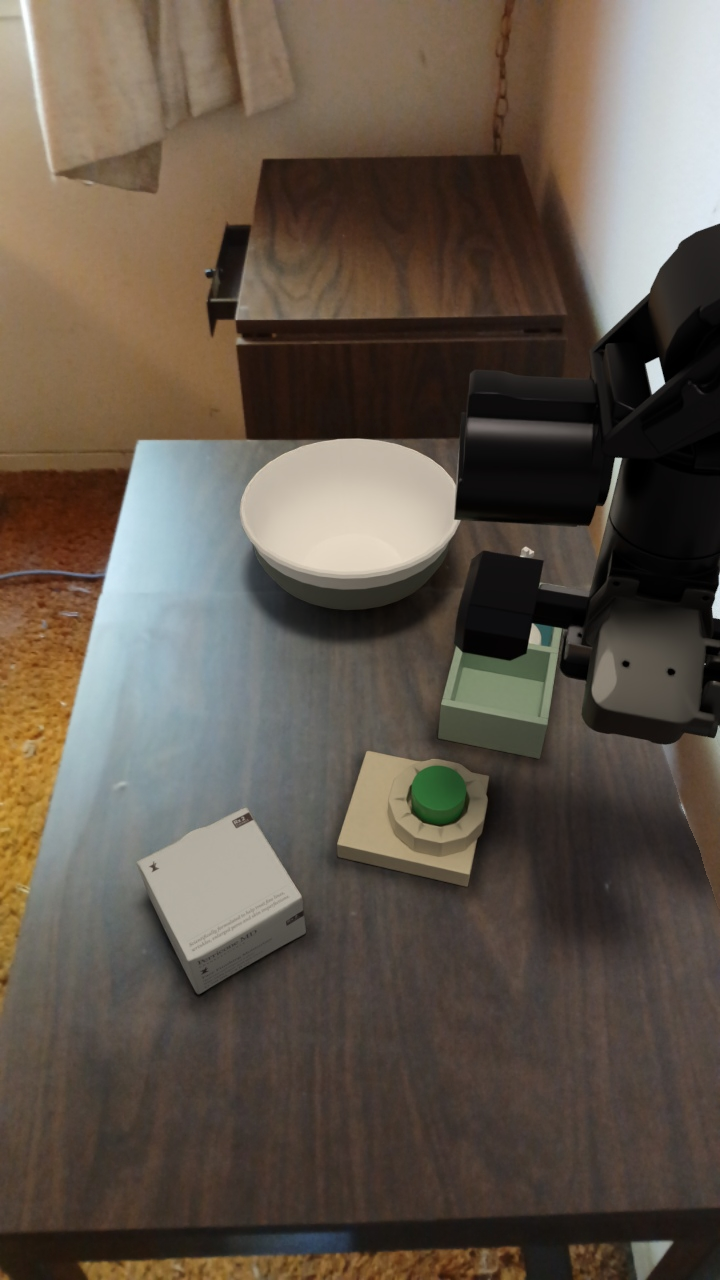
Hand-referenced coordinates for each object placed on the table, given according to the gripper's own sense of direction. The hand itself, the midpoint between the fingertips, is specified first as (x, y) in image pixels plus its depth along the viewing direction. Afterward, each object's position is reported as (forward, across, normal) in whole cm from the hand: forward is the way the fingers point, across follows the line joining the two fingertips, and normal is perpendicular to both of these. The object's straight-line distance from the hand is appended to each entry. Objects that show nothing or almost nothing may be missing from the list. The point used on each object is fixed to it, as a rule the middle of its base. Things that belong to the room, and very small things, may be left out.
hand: (607, 725), depth 53 cm
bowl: (+12, -22, +22) cm, 33 cm away
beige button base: (+12, -11, -2) cm, 16 cm away
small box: (+12, -21, -12) cm, 27 cm away
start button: (+9, -9, -2) cm, 13 cm away
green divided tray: (+12, -7, +13) cm, 19 cm away
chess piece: (+11, -7, +16) cm, 21 cm away
